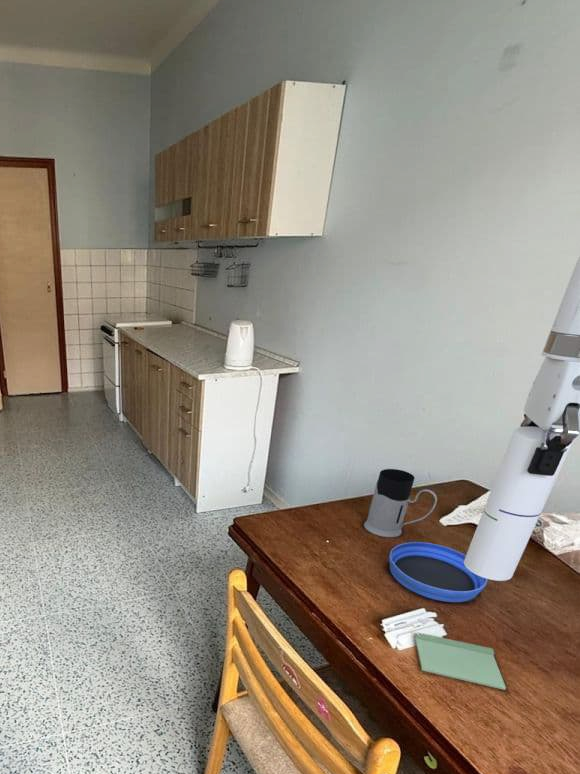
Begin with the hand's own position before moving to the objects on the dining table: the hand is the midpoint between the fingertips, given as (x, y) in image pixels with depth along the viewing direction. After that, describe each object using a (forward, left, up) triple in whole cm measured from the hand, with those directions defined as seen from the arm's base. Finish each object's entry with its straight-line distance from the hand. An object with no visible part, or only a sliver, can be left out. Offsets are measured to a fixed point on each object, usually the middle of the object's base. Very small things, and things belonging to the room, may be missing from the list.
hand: (531, 463), depth 74 cm
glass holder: (+9, -32, -34) cm, 48 cm away
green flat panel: (+3, +10, -33) cm, 35 cm away
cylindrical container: (0, 0, -20) cm, 20 cm away
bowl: (+3, -14, -34) cm, 37 cm away
